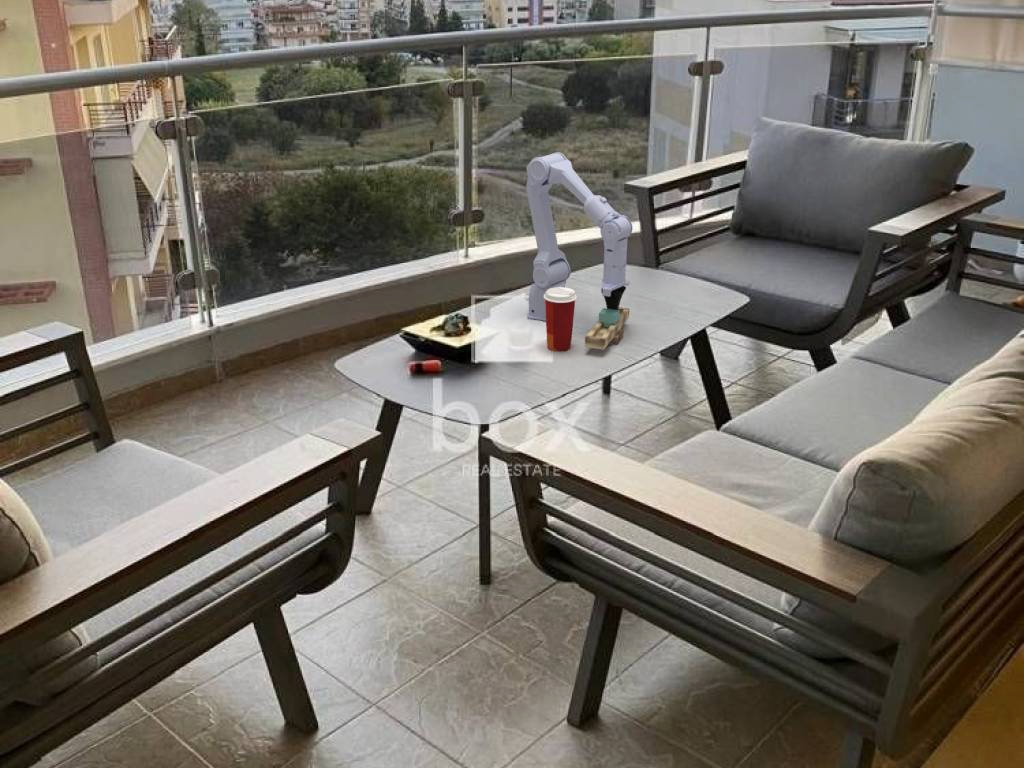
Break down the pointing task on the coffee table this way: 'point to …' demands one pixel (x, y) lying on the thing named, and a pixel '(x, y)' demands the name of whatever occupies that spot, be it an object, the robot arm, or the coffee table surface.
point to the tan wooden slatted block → (607, 332)
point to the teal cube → (609, 316)
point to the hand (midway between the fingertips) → (612, 313)
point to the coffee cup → (559, 317)
